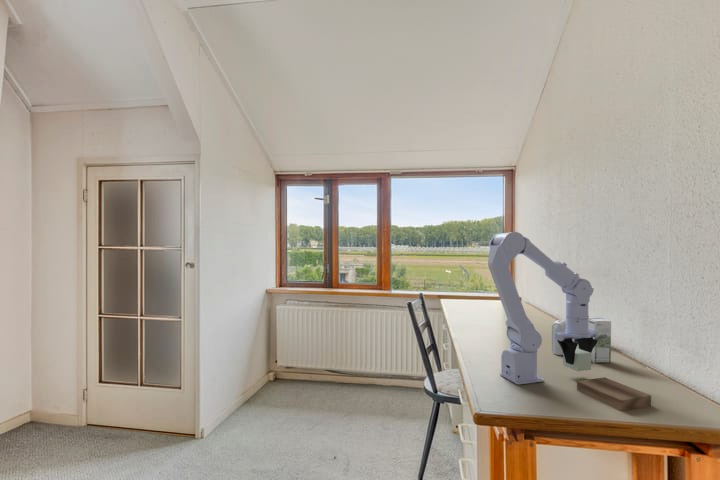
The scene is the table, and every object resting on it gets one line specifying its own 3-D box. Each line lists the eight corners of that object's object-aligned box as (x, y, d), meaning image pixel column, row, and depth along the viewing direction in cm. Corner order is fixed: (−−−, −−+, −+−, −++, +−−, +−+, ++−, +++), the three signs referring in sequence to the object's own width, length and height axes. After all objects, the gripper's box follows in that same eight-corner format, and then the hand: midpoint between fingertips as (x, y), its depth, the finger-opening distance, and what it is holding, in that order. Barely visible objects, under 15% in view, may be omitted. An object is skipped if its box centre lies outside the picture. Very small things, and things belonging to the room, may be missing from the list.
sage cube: (577, 371, 100) (577, 354, 100) (563, 365, 105) (563, 349, 105) (591, 369, 101) (591, 352, 101) (576, 363, 106) (576, 347, 106)
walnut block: (621, 412, 82) (621, 400, 82) (576, 392, 94) (576, 381, 94) (651, 407, 85) (650, 395, 85) (604, 387, 97) (604, 377, 97)
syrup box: (598, 357, 121) (598, 316, 121) (611, 363, 115) (611, 320, 115) (583, 357, 121) (582, 316, 121) (595, 363, 115) (594, 320, 115)
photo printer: (564, 348, 131) (563, 316, 131) (576, 351, 127) (576, 318, 128) (550, 353, 125) (549, 319, 126) (562, 356, 122) (562, 322, 122)
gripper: (569, 321, 97) (569, 369, 97) (608, 319, 101) (608, 364, 101) (549, 316, 104) (549, 361, 104) (586, 314, 108) (586, 357, 108)
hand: (576, 362), depth 103 cm, fingers closed on sage cube, 5 cm apart
